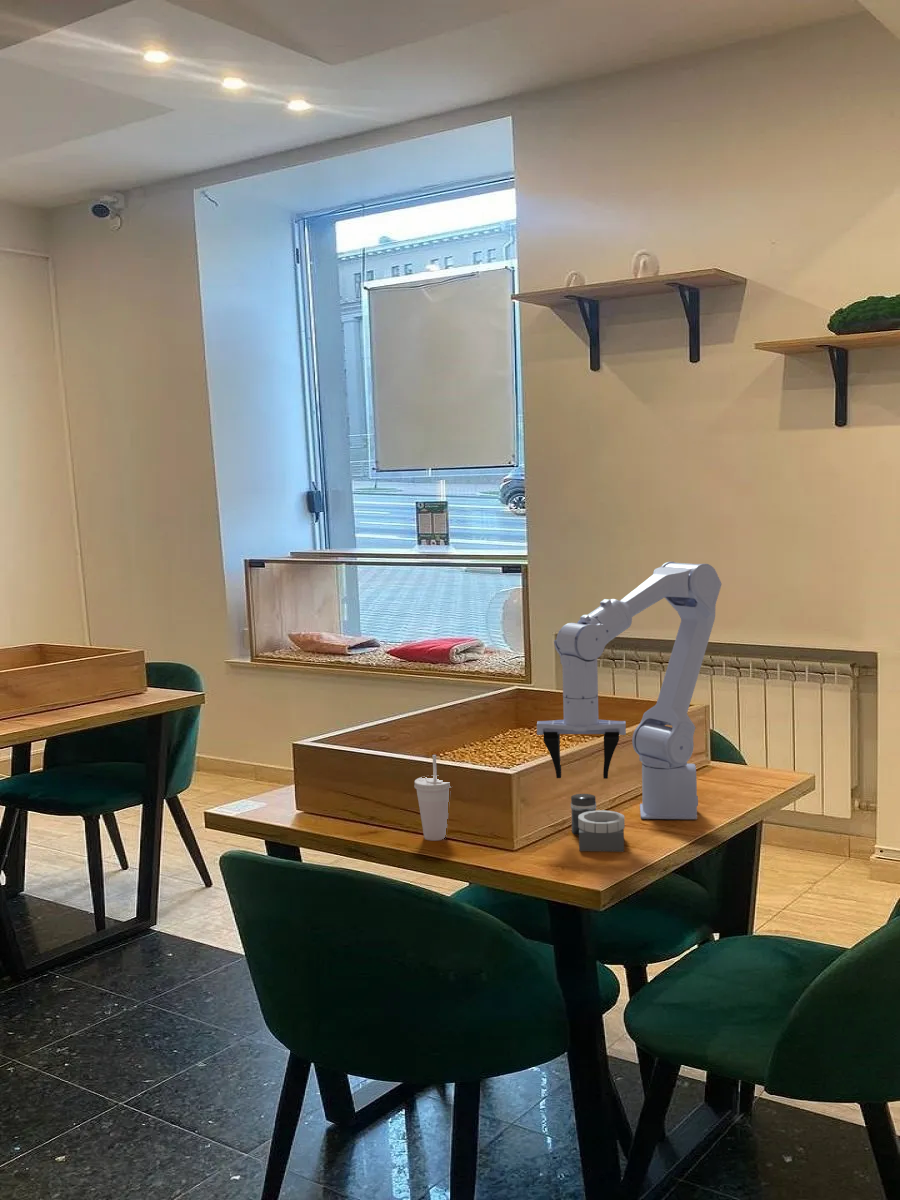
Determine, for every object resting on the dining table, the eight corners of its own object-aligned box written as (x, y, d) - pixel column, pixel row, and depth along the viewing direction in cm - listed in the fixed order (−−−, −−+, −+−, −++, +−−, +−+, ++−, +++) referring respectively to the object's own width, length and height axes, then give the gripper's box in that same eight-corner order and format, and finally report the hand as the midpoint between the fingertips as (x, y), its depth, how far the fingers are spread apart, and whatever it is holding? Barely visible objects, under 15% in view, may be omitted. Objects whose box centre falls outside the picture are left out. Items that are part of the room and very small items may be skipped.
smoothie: (429, 845, 183) (426, 761, 182) (408, 836, 189) (405, 754, 187) (462, 838, 187) (459, 755, 186) (440, 828, 192) (438, 748, 191)
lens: (597, 828, 190) (596, 793, 189) (596, 836, 186) (595, 800, 185) (571, 828, 190) (571, 793, 190) (570, 835, 186) (570, 800, 186)
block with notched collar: (624, 837, 184) (624, 810, 184) (625, 851, 177) (624, 824, 177) (579, 836, 185) (579, 810, 185) (578, 851, 178) (577, 823, 178)
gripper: (534, 700, 183) (536, 782, 184) (625, 700, 181) (626, 783, 182) (537, 692, 190) (539, 771, 191) (625, 692, 188) (626, 772, 189)
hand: (582, 776), depth 187 cm, fingers open, 7 cm apart
